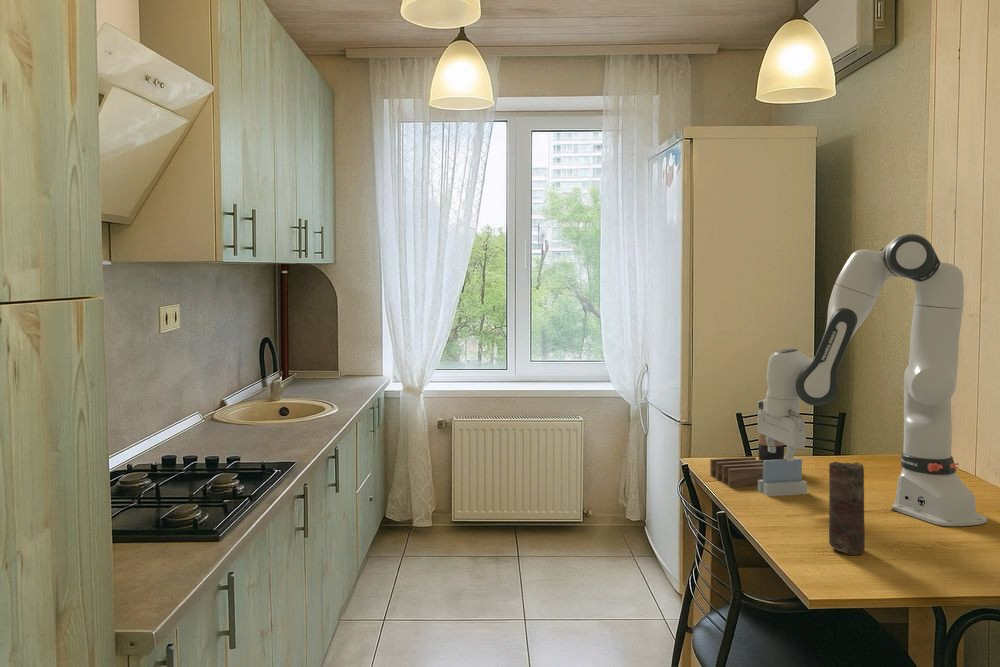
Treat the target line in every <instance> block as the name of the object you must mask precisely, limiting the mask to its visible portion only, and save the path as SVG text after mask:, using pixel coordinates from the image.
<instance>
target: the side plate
mask: <svg viewBox="0 0 1000 667" xmlns="http://www.w3.org/2000/svg"><path fill="white" fill-rule="evenodd" d="M802 471H803V459H802V458H800V457H796V458H795V457H794V458H793V461H787V460H785V458H784V459H777V460H763V493H764V483H772V482H788V481H803V480H802V479H803V477H802V476H803V475H802V474H803V472H802ZM763 493H762V494H763Z"/></svg>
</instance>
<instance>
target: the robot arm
mask: <svg viewBox="0 0 1000 667" xmlns="http://www.w3.org/2000/svg"><path fill="white" fill-rule="evenodd" d="M892 277H900V278H904V279H910V280H912V282H913V283H914V286H915V287H914V288H915V297H914V302H913V303H914V305H913V311H912V313H913V314H912V321H911V328H910V339H909V341H910V343H909V353H908V354H909V355H908V363H907V364H908V365H907V367H906V368H905V371H904V374H903V451H902V452H901V456H900V466H901V468H902V469H901V472H900V475H899V476H898V478H897V485H896V493H895V501H894V503H893V504H892V505H891V510H893V511H896V512H898V513H901V514H905V515H908V516H909V517H910V516H911V517H912V518H916V519H919V520H923V521H925V522H928V523H931V524H934V525H936V526H944V527H966V526H970V527H971V526H977V525H983V524H987V523H988V518H987V517H986V516H984V515H982V514H981V513H980V512H978V511H977V505H976V504H977V503H976V498H975V495H974V494H973V491H972V490H971V489H969V488H968V487H967V485H966V484H965V483H964V482H963V480H962V479H961V478H960V477H959V476H958V474H957V473H956V472H957V469H959V463H958V462H957V463H955V461H954V458H953V456H952V442H953V441H952V439H953V437H952V436H953V422H952V397H953V396H954V395H955V392H956V388H957V378H958V368H959V366H958V364H959V346H960V345H959V344H960V335H961V334H960V333H961V325H962V319H963V309H964V303H965V300H964V299H965V298H964V296H965V288H964V287H965V286H964V284H965V283H964V275H963V271H962V270H961V269H960V268H959V267H958V266H956V265H954V264H951V263H949V262H941V261H940V259H939V257H938V255H937V252H936V251H935V249H934V246H933V245H932V244H931V243H930V241H929V240H928V239H926V238H925V237H924V236H922V235H920V234H915V233H912V234H911V233H906V234H901V235H899V236H897V237H896V236H895V238H893V239H892V240H891V241H890V242H889V243H888V244H887V245H885V246H884V247H883V248H882V249H880V250H879V251H876V250H872V249H866V248H865V249H857V250H855V251H854V252H853V253H851V254H850V256H849V258H847V260H846V262H845V263H844V265H843V267H842V269H841V270H840V273H839V274H838V276H837V278H836V280H835V283H834V285H833V287H832V291H831V294H830V297H829V301H828V307H827V320H826V328H825V331H824V334H823V336H822V339H821V342H820V344H819V346H818V348H817V351H816V354H815V356H814V357H813V358H811V357H808V356H807V355H805V354H803V353H802V352H801V351H800V350H799V349H796V348H787V349H779V350H776V351H774V352H772V354H770V356H769V358H768V362H767V367H766V383H767V391H766V394H765V399H761V400H758V401H757V405H756V406H757V409H758V411H757V430H758V433H759V432H760V433H761V434H763V435H766V442H767V445H768V452H770V453H775V452H776V447H775V444H774V440H777V441H779V442H781V443H784V445H786V449H787V451H786V453H784V459H785V460H787V461H793V459H794V458H795V457H794V455H795V453H796V451H797V450H798V449H803V448H805V446H806V444H807V435H806V434H807V431H806V430H807V429H806V423H805V421H804V419H803V417H802V416H801V414H800V402H801V401H803V402H804V403H805V404H807V405H810V406H815V407H820V406H824V405H827V404H828V403H830V402H832V400H834V398H835V397H836V394H837V392H838V377H837V375H838V370H839V367H840V365H841V362H842V360H843V357H844V355H845V352H846V351H847V348H848V347H849V346H848V345H849V343H850V341H851V339H852V338H853V336H854V335H855V333H856V332H857V330H858V329H859V328H860V327H861V326H862V324H863V323H864V321H866V319H868V316H869V315H870V313H871V312H872V310H873V307H874V306H875V304H876V302H877V300H878V297H879V295H880V293H881V290H882V289H883V286H884V284H885V283H886V282H887V281H888V280H889V279H890V278H892ZM800 400H801V401H800ZM759 409H760V410H759Z"/></svg>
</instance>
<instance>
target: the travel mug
mask: <svg viewBox="0 0 1000 667" xmlns="http://www.w3.org/2000/svg"><path fill="white" fill-rule="evenodd" d="M759 410H760V409H758V411H759ZM774 444H775V447H776V452H775V453H770V452H768V445H767V442H766V435H763V434H761V433H760V432H759V431H758V460H762V463H763V460H777V459H785V444H784V443H781V442H779V441H777V440H774Z"/></svg>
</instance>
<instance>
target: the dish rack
mask: <svg viewBox="0 0 1000 667" xmlns="http://www.w3.org/2000/svg"><path fill="white" fill-rule="evenodd" d="M709 460H710V461H709V462H710V463H709V464H710V466H709V467H710V468H709V469H710V471H709V473H710V474H709V477H712V478H714V479H715V480H717V481H719V482H720V483H722V484H724V485H726V486H727V487H729V488H731V489H732V488H743V487H744V488H745V487H758V480H763V463H762V460H759V459H757V458H756V457H755V456H744V457H742V456H741V457H721V458H710V459H709Z"/></svg>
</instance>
